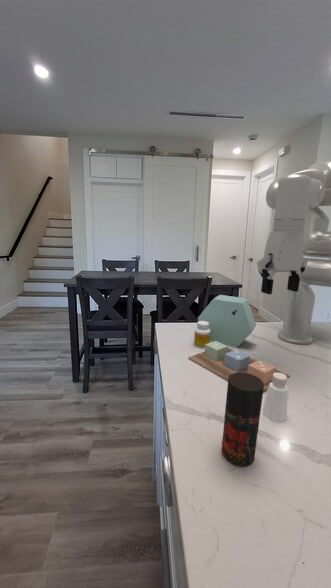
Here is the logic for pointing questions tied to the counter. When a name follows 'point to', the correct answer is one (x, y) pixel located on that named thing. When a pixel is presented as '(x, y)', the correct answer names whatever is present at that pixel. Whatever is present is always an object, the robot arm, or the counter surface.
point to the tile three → (262, 371)
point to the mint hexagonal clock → (229, 320)
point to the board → (222, 366)
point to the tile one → (215, 350)
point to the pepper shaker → (276, 399)
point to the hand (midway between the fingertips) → (279, 291)
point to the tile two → (236, 360)
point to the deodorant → (242, 418)
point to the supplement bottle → (202, 334)
